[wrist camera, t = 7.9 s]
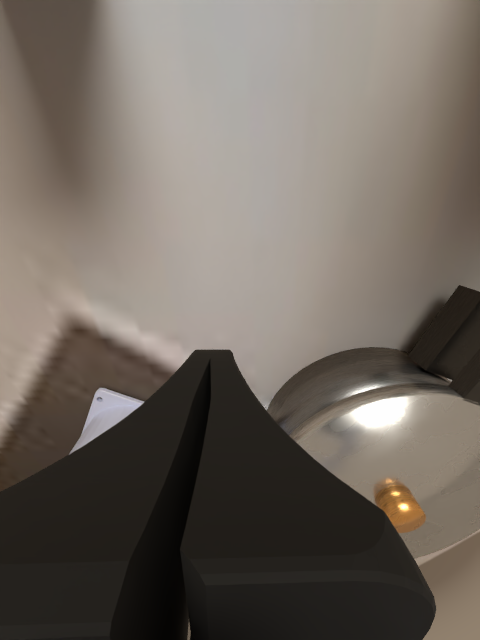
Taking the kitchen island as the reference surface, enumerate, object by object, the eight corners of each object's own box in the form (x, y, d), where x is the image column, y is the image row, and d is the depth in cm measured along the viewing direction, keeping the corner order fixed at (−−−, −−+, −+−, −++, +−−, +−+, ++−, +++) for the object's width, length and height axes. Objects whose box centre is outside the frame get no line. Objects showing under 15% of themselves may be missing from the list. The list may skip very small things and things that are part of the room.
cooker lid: (410, 563, 25) (431, 604, 22) (230, 527, 22) (230, 570, 19) (648, 354, 16) (728, 382, 13) (402, 243, 13) (444, 252, 10)
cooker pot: (380, 501, 29) (407, 556, 25) (235, 467, 26) (236, 521, 22) (543, 322, 21) (631, 354, 16) (356, 242, 18) (399, 253, 13)
